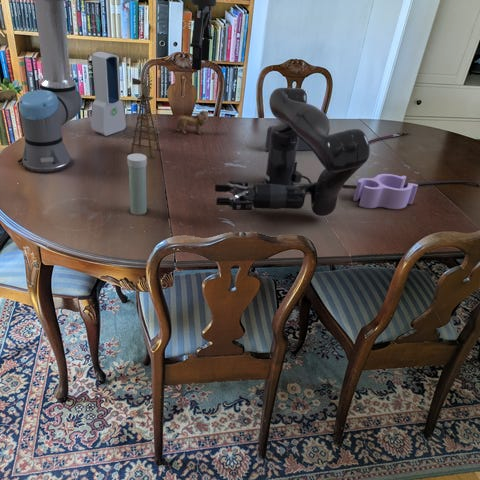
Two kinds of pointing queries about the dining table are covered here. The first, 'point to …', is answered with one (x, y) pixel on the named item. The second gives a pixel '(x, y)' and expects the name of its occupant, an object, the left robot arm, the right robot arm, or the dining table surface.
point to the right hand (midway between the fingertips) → (215, 194)
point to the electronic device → (107, 95)
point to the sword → (386, 137)
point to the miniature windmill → (144, 98)
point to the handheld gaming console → (301, 146)
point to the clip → (384, 192)
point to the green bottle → (137, 190)
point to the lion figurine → (193, 121)
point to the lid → (137, 160)
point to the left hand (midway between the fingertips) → (200, 65)
